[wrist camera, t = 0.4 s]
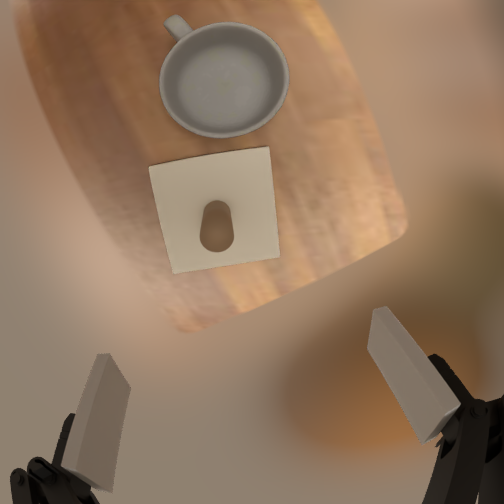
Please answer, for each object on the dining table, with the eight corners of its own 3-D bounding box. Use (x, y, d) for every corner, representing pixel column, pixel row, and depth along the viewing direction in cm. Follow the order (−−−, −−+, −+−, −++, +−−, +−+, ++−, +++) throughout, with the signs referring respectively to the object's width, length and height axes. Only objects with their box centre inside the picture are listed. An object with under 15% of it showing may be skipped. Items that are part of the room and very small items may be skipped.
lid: (150, 165, 28) (128, 177, 21) (267, 146, 29) (283, 151, 22) (174, 270, 34) (164, 307, 27) (278, 253, 34) (294, 287, 27)
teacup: (288, 112, 28) (310, 107, 21) (199, 154, 29) (192, 161, 22) (234, 13, 22) (240, -19, 15) (146, 53, 23) (124, 32, 16)
